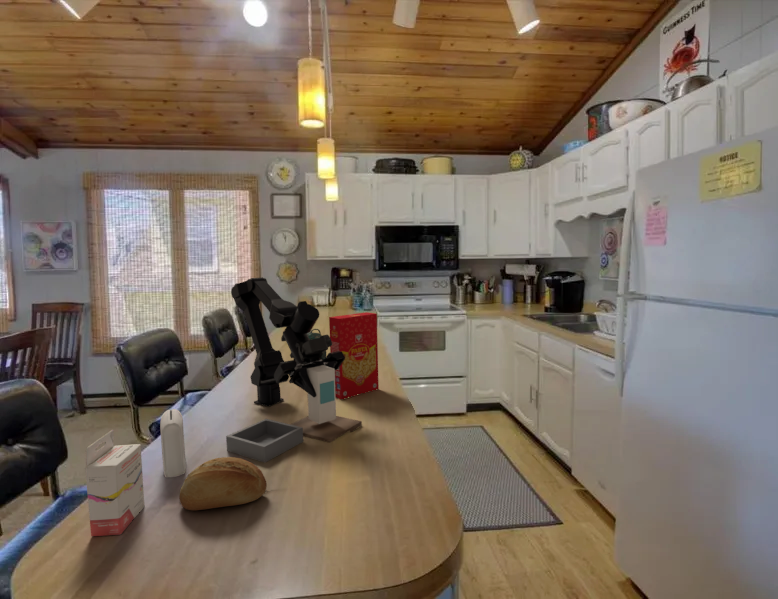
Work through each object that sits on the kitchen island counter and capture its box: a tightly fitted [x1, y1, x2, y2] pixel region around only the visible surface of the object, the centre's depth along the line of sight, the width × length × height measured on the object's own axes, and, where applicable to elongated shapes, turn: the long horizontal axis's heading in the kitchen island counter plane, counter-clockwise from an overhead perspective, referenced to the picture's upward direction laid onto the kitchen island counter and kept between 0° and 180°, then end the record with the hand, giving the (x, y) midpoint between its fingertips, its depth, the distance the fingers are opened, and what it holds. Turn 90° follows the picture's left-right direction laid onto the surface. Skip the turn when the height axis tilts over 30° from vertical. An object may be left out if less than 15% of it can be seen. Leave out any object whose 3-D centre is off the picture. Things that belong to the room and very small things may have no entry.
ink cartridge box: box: [84, 429, 145, 537], centre depth 75 cm, size 9×5×15 cm, turn 5°
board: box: [289, 415, 363, 443], centre depth 113 cm, size 15×13×1 cm
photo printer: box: [159, 408, 187, 478], centre depth 93 cm, size 10×4×12 cm, turn 26°
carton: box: [307, 365, 337, 424], centre depth 112 cm, size 5×5×13 cm
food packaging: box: [328, 311, 380, 400], centre depth 141 cm, size 15×5×25 cm, turn 131°
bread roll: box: [179, 456, 268, 512], centre depth 80 cm, size 10×15×8 cm, turn 102°
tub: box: [225, 418, 304, 463], centre depth 102 cm, size 12×12×4 cm
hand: (324, 394), depth 111 cm, fingers closed on carton, 5 cm apart
